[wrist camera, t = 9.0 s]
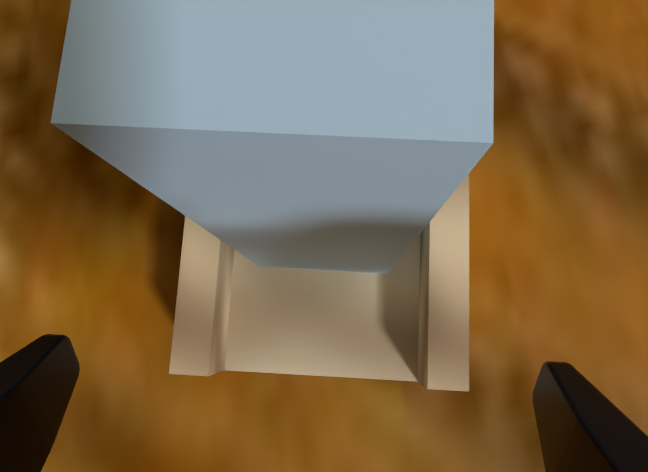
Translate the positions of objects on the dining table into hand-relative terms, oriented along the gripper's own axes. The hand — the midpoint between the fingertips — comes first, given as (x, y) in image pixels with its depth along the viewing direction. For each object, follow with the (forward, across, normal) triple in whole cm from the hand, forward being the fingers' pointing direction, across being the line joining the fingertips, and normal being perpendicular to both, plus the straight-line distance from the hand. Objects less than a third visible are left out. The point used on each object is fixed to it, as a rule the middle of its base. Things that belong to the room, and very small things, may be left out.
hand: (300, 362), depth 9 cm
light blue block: (+9, 0, +2) cm, 9 cm away
